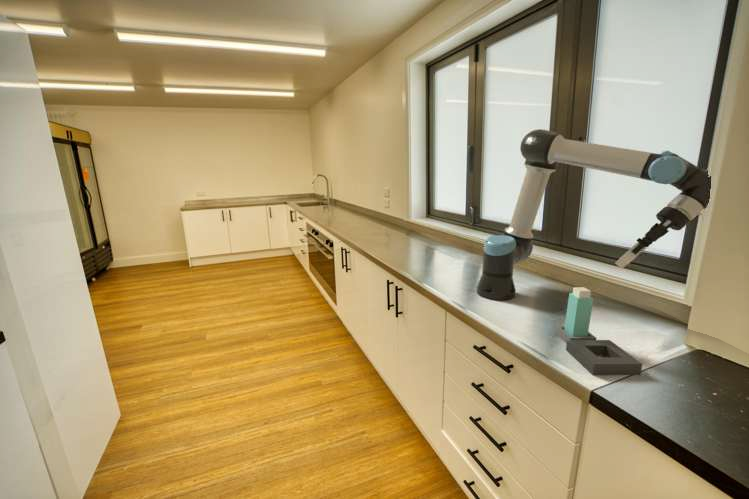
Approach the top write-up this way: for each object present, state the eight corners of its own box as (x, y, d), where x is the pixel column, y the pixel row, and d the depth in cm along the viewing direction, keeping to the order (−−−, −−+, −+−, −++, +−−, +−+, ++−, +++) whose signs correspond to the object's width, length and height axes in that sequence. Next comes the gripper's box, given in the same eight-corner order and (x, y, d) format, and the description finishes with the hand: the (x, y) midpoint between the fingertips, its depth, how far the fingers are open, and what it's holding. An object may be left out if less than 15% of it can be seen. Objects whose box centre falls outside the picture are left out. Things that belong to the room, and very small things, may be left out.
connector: (563, 336, 105) (570, 286, 101) (577, 336, 105) (585, 286, 101) (571, 343, 100) (579, 291, 97) (586, 343, 100) (594, 291, 97)
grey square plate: (555, 333, 106) (556, 326, 106) (579, 333, 106) (580, 326, 106) (569, 345, 99) (570, 338, 98) (595, 345, 99) (596, 337, 98)
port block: (565, 349, 97) (567, 340, 96) (607, 349, 97) (609, 340, 96) (592, 374, 85) (594, 364, 84) (640, 374, 85) (642, 363, 84)
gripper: (704, 211, 91) (638, 268, 96) (679, 229, 112) (626, 274, 118) (676, 194, 94) (614, 250, 100) (657, 214, 116) (606, 260, 121)
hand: (620, 263), depth 109 cm, fingers open, 13 cm apart
